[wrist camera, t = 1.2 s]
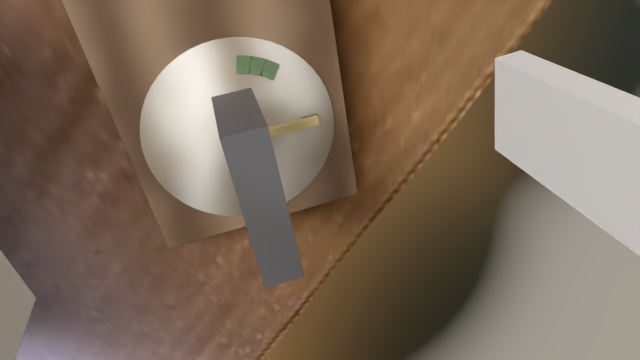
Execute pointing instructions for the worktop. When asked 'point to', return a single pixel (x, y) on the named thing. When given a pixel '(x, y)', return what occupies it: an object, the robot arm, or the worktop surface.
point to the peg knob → (259, 181)
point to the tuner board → (212, 80)
